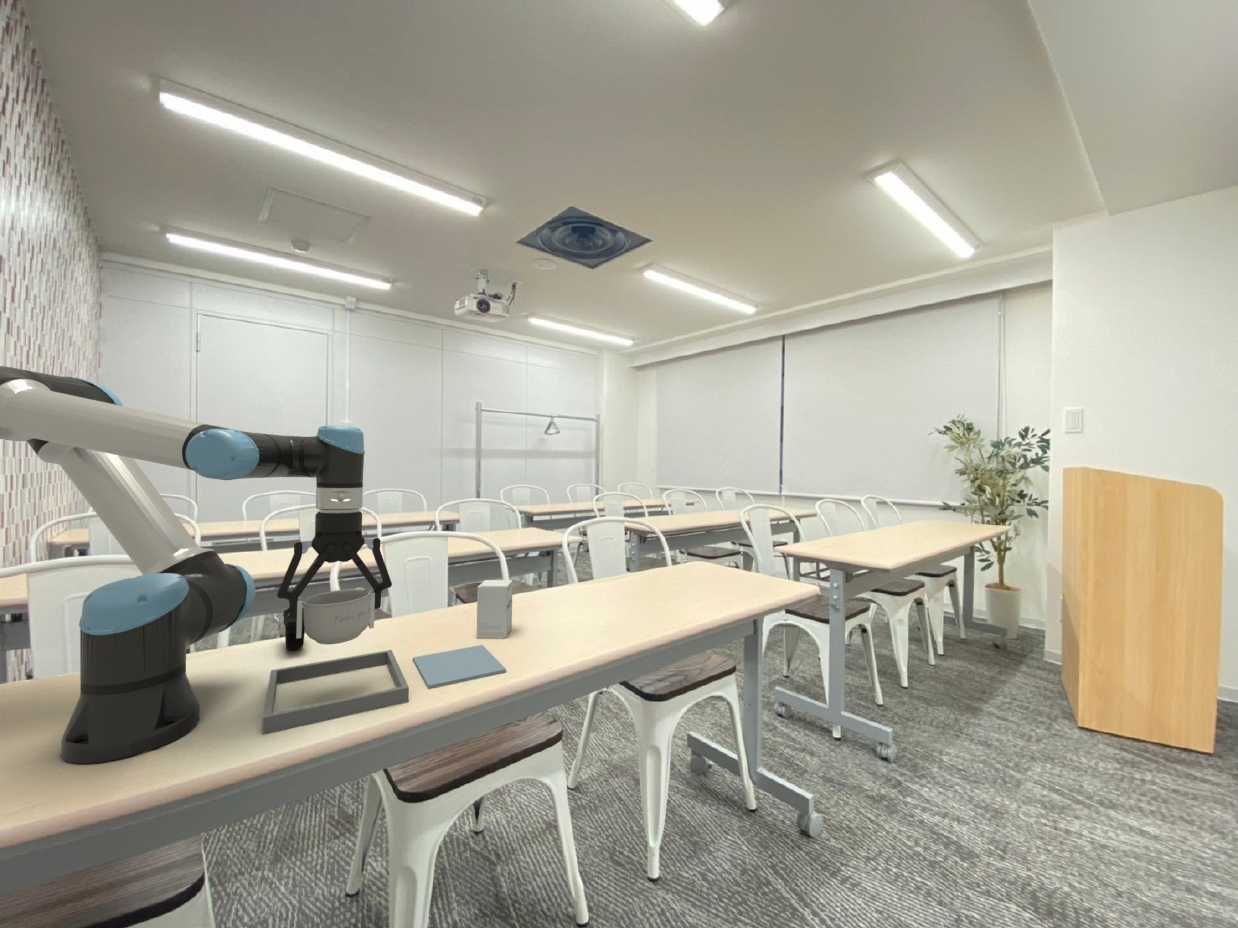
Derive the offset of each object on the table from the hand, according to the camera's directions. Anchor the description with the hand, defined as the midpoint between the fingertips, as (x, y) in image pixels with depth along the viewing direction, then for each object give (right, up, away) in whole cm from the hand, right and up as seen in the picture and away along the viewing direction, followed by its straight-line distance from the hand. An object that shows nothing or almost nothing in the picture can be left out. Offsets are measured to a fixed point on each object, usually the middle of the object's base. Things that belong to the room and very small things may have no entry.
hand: (336, 631), depth 92 cm
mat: (+18, -11, +12) cm, 25 cm away
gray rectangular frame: (0, -11, 0) cm, 11 cm away
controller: (-21, -11, +21) cm, 32 cm away
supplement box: (+21, -12, +33) cm, 41 cm away
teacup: (+1, -1, 0) cm, 2 cm away
